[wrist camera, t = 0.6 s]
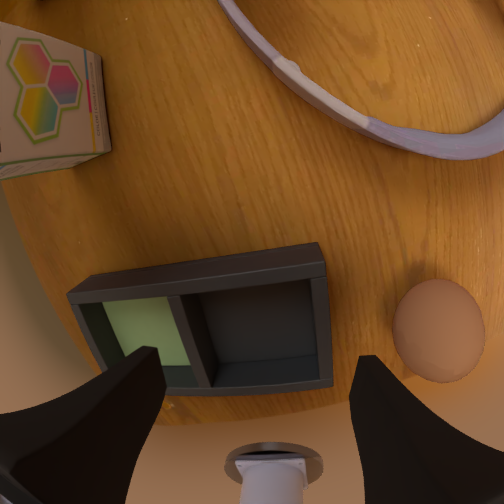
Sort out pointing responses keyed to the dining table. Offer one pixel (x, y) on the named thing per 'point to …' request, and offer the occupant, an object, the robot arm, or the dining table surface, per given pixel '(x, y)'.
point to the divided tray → (217, 321)
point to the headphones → (419, 141)
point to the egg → (439, 331)
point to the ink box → (48, 104)
